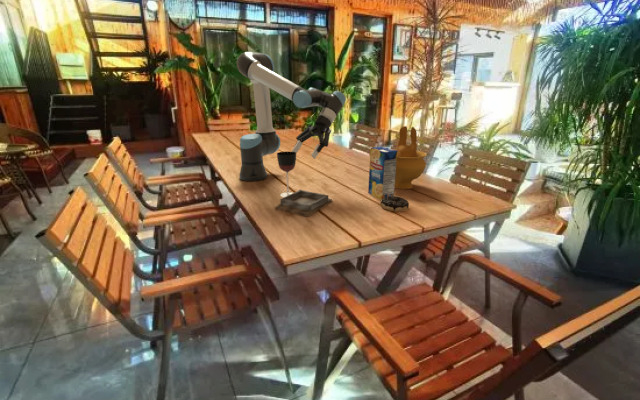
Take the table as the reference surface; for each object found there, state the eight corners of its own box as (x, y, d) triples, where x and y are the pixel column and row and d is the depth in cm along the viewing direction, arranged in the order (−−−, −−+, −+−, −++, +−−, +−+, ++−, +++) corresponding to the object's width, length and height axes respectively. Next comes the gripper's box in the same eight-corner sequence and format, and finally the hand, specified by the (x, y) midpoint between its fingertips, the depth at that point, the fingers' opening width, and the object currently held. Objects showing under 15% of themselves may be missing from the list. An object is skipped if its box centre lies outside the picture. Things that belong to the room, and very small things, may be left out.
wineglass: (279, 192, 160) (277, 151, 154) (297, 191, 161) (296, 151, 154) (278, 197, 153) (276, 155, 146) (297, 197, 154) (296, 155, 147)
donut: (388, 201, 149) (389, 193, 148) (413, 207, 142) (414, 198, 141) (376, 208, 141) (376, 199, 140) (401, 215, 134) (402, 206, 133)
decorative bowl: (373, 186, 170) (376, 126, 160) (394, 177, 185) (399, 122, 174) (410, 195, 157) (416, 131, 146) (430, 185, 171) (437, 126, 161)
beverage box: (381, 199, 150) (385, 152, 143) (368, 193, 160) (370, 147, 152) (393, 197, 153) (397, 150, 146) (379, 191, 163) (382, 146, 155)
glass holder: (276, 209, 140) (275, 200, 138) (302, 195, 156) (302, 188, 155) (307, 216, 132) (307, 207, 131) (332, 201, 148) (332, 193, 147)
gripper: (348, 127, 155) (325, 163, 151) (311, 122, 172) (290, 155, 167) (340, 116, 150) (317, 154, 145) (303, 112, 167) (281, 146, 162)
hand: (303, 154), depth 156 cm, fingers open, 13 cm apart
